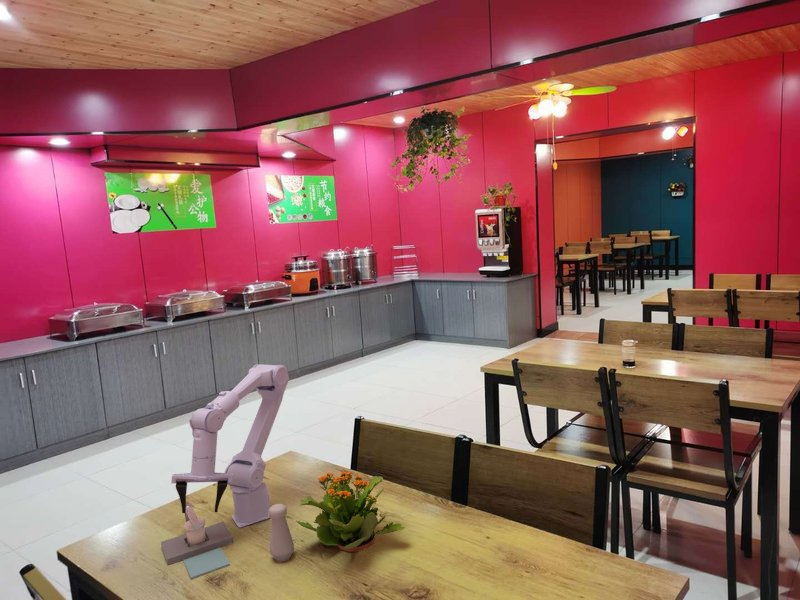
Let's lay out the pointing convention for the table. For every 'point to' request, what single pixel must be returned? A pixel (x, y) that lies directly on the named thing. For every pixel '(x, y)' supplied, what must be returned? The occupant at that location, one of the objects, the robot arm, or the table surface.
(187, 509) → the clip
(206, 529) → the socket block
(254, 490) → the robot arm
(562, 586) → the table surface
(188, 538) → the plug
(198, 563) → the mat
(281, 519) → the salt shaker
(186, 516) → the clip post
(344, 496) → the potted flower
